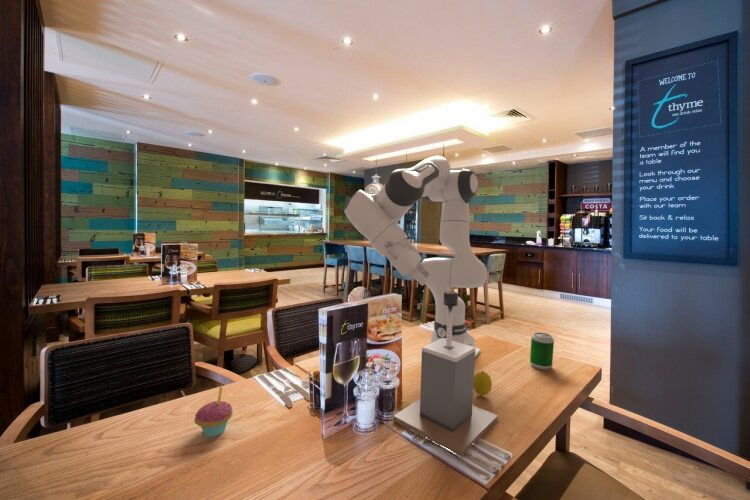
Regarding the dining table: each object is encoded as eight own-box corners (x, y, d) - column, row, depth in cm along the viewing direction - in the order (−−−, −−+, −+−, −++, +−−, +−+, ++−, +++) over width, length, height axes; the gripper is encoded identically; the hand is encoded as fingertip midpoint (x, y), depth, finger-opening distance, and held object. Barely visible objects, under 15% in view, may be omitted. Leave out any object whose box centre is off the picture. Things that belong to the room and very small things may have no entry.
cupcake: (225, 417, 91) (224, 374, 90) (238, 432, 85) (237, 386, 84) (190, 431, 85) (188, 385, 84) (202, 447, 79) (200, 398, 78)
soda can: (556, 371, 123) (558, 339, 122) (535, 370, 123) (537, 338, 122) (545, 362, 131) (548, 331, 129) (526, 361, 131) (528, 331, 130)
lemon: (492, 402, 102) (493, 376, 101) (472, 399, 103) (474, 374, 102) (489, 392, 107) (491, 368, 106) (471, 390, 108) (472, 366, 107)
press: (434, 393, 106) (437, 329, 104) (497, 420, 92) (501, 347, 90) (393, 421, 91) (395, 346, 89) (460, 457, 78) (464, 371, 76)
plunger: (442, 373, 96) (445, 288, 94) (467, 382, 91) (471, 293, 88) (427, 382, 90) (430, 292, 88) (452, 392, 85) (456, 297, 83)
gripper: (392, 235, 80) (432, 279, 79) (404, 232, 100) (437, 266, 98) (373, 253, 81) (413, 296, 80) (389, 246, 101) (421, 281, 100)
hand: (426, 280), depth 89 cm, fingers open, 8 cm apart
